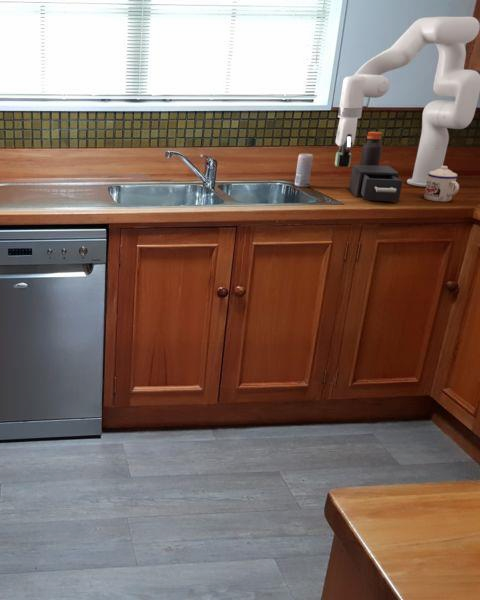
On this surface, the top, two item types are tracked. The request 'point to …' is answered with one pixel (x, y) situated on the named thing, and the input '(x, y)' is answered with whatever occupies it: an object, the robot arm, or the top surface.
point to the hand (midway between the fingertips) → (342, 164)
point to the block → (339, 159)
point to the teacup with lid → (441, 185)
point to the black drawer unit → (380, 187)
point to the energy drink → (303, 170)
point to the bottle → (372, 149)
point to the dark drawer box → (367, 169)
